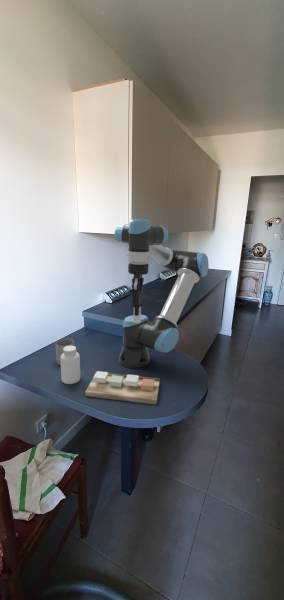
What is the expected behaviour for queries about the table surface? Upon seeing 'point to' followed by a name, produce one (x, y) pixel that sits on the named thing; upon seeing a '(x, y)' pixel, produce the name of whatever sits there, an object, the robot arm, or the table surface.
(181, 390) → the table surface
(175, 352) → the table surface
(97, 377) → the white key
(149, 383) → the key terracotta
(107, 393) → the keypad board
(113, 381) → the key sage
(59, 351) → the cup
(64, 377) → the pill bottle
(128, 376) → the white key
